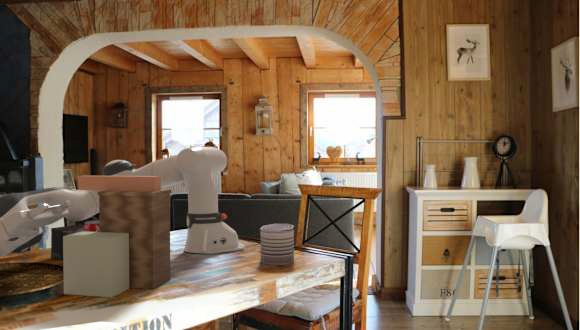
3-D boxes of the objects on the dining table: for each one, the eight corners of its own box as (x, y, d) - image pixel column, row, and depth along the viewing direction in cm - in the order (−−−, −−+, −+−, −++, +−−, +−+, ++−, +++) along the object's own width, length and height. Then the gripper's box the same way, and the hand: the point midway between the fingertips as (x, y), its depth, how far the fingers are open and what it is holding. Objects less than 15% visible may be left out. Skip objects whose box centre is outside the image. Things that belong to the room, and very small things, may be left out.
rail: (77, 190, 136) (77, 176, 136) (85, 189, 140) (85, 175, 140) (154, 191, 131) (154, 176, 131) (161, 190, 135) (160, 176, 135)
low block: (63, 294, 124) (63, 236, 124) (83, 285, 132) (82, 231, 132) (112, 297, 121) (111, 238, 121) (129, 288, 129) (128, 233, 129)
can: (300, 261, 161) (300, 226, 161) (273, 266, 154) (273, 229, 154) (280, 256, 170) (280, 222, 170) (253, 260, 163) (253, 225, 163)
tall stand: (98, 285, 132) (97, 191, 131) (120, 276, 142) (119, 188, 141) (153, 289, 128) (152, 192, 127) (171, 279, 138) (171, 189, 138)
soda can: (98, 261, 161) (97, 223, 161) (79, 261, 163) (78, 222, 162) (110, 257, 168) (109, 220, 168) (92, 256, 169) (91, 220, 169)
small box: (61, 260, 164) (60, 229, 164) (50, 258, 167) (49, 228, 167) (88, 254, 173) (88, 225, 173) (77, 252, 176) (77, 224, 176)
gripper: (52, 230, 153) (85, 209, 150) (0, 242, 133) (37, 218, 130) (43, 213, 153) (75, 192, 150) (-10, 222, 133) (26, 198, 130)
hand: (57, 204), depth 140 cm, fingers open, 8 cm apart
